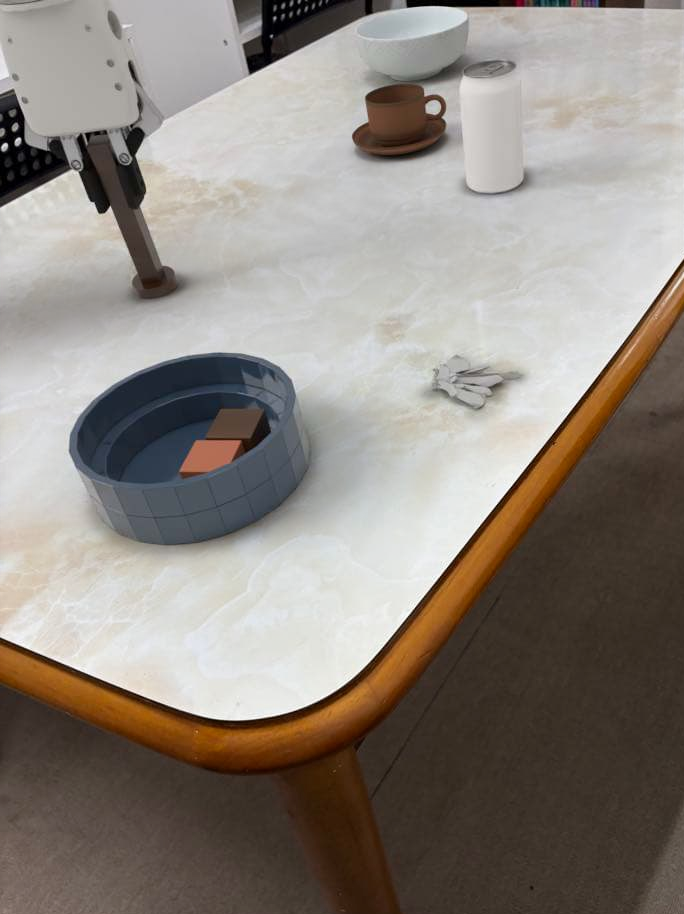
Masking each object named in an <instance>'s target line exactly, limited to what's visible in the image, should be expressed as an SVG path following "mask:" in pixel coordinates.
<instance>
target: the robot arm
mask: <svg viewBox="0 0 684 914" xmlns="http://www.w3.org/2000/svg"><path fill="white" fill-rule="evenodd" d="M0 48H1V52H2V56H3V59H4V63H5V65H6V66H5V67H6V69H7V73H8V76H9V79H10V81H11V84H12V85H11V86H12V87H13V90H14V93H15V95H16V98H17V101H18V104H19V107H20V109H21V112H22V114H23V116H24V141H25V143H26V144H27V145H28V146H30V147H33V148H37V149H39V150H44V151H45V152H47V151H49V152H51V153H52V154H53V155H55V156H56V157H58V158H59V159H61V160H62V161H64V162H65V163H66V164H68V165H69V167H70V169H71V170H73V171H74V172H77V173H78V175H79V178H80V180H81V183H82V185H83V187H84V191H85V193H86V196H87V198H88V200H89V202H90V203H93V204H94V206H95V209H96V211H97V214H99V215H103V214H106V213H107V212H108V210H109V209H110V208H111V206H110V203H109V201H108V198H107V196H106V193H105V191H104V188H103V186H102V183H101V181H100V179H99V176H98V174H97V171H96V169H95V166H94V164H93V161H92V159H91V156H90V154H89V151H88V149H87V144H88V139H87V137H86V133H93V132H101V131H106V133H107V134H108V136H109V138H110V141H111V143H112V146H113V148H114V151H115V153H116V156H117V161H118V165H117V167H116V173H117V175H118V178H119V181H120V184H121V187H122V189H123V192H124V195H125V198H126V201H127V203H128V206H129V208H130V209H132V210H135V209H138V208H139V206H140V207H141V204H142V203H143V201H144V200H145V196H146V195H147V187H146V182H145V179H144V177H143V173H142V171H141V167H140V164H139V161H138V159H137V156H136V155H137V153H138V151H139V149H140V147H141V146H142V144H143V142H144V140H145V139H147V138H148V137H150V136H151V135H152V134H153V133H155V132H156V131H157V130H160V128H161V127H162V125H163V124H164V122H165V117H164V115H163V113H162V112H161V111H160V109H159V108H158V107H157V105H156V104H155V103H154V101H152V99H151V98H150V97H149V92H148V89H147V86H146V82H145V80H144V77H143V75H142V71H141V69H140V68H141V67H140V65H139V64H138V60H137V58H136V55H135V53H134V51H133V48H132V45H131V42H130V41H129V38H128V36H127V33H126V31H125V29H124V26H123V24H122V22H121V20H120V18H119V15H118V13H117V10H116V9H115V6H114V5H113V3H112V1H111V0H0ZM139 118H141V120H139V121H138V119H139ZM137 121H138V122H137ZM135 122H137V123H135ZM134 123H135V124H134ZM132 124H134V125H133V127H131V126H132Z"/></svg>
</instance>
